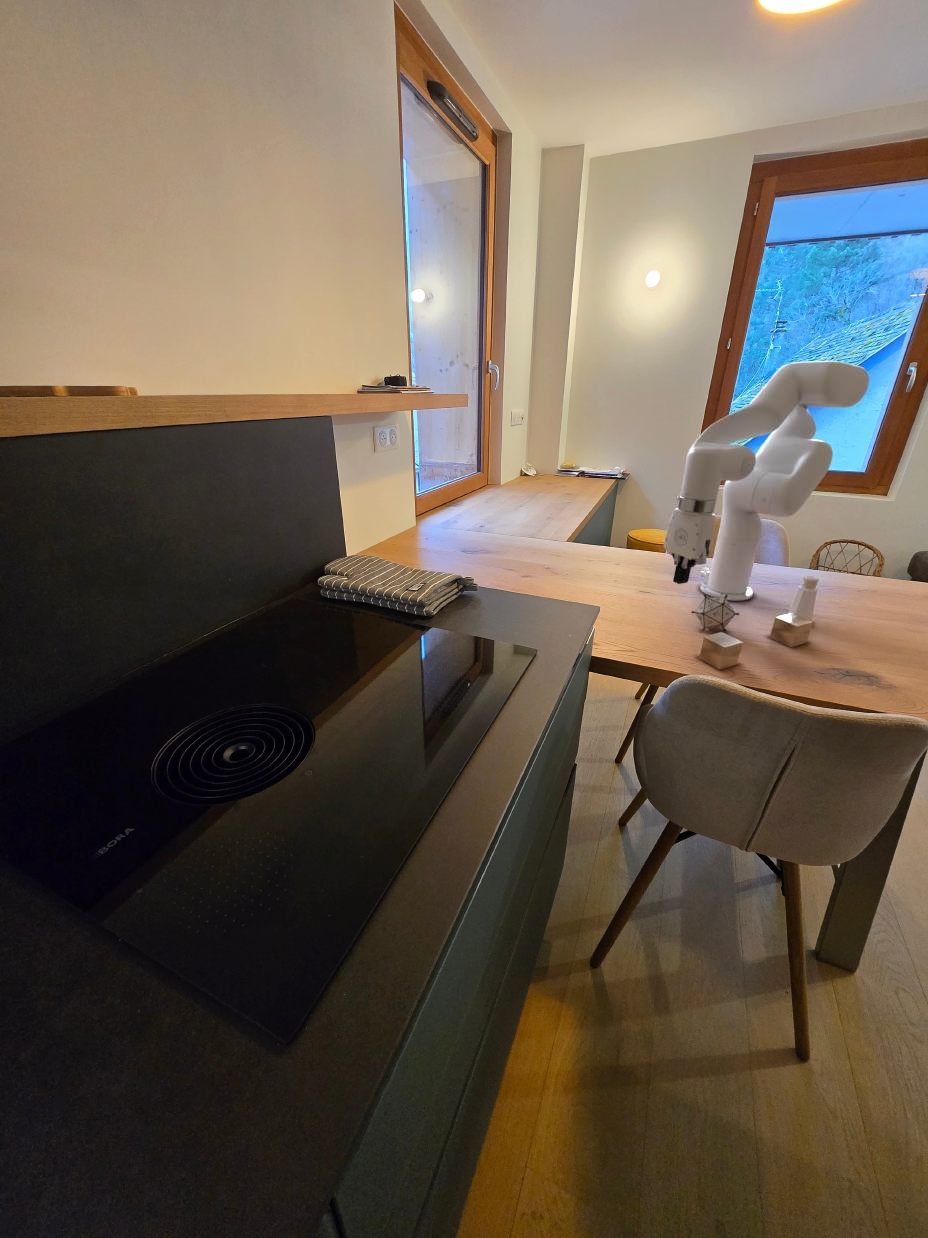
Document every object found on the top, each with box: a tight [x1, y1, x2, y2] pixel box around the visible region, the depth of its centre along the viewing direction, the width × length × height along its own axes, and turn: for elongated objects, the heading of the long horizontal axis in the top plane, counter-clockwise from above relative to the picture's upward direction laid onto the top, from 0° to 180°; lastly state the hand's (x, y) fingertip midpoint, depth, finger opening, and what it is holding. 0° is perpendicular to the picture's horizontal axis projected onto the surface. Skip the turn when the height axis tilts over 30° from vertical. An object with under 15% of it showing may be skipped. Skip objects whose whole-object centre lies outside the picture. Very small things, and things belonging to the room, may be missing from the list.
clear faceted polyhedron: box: [690, 593, 740, 632], centre depth 111 cm, size 9×8×10 cm
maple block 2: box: [769, 613, 814, 648], centre depth 106 cm, size 5×5×5 cm
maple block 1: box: [698, 631, 744, 671], centre depth 99 cm, size 5×5×5 cm
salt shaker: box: [786, 575, 820, 621], centre depth 113 cm, size 5×5×11 cm
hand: (680, 582), depth 117 cm, fingers closed
